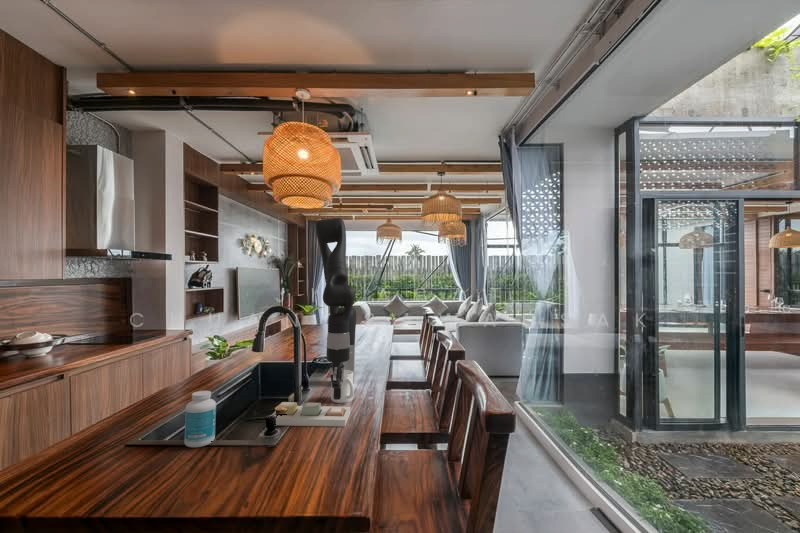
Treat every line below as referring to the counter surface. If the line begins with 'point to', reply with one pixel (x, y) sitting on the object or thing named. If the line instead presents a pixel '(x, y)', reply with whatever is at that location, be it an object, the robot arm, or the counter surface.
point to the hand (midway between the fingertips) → (337, 398)
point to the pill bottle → (200, 420)
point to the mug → (345, 388)
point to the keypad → (313, 418)
